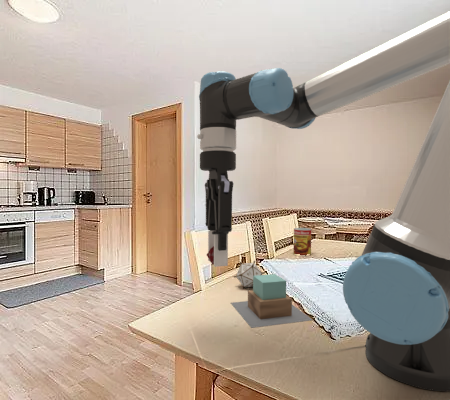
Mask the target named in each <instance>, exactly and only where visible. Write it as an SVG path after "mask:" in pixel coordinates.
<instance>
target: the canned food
mask: <svg viewBox="0 0 450 400" xmlns="http://www.w3.org/2000/svg"><path fill="white" fill-rule="evenodd" d="M294 254H300V255H307V254H311V255H312V229H311V228H309V227H295V228H293V255H294Z"/></svg>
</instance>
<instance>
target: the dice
mask: <svg viewBox="0 0 450 400" xmlns="http://www.w3.org/2000/svg"><path fill="white" fill-rule="evenodd" d="M206 257H207V259H208V258H209V260H210V261H209V262H210V264H211V265H214V246H213V247H212V248H211V249H210V251H209V252H208V251H207V253H206Z"/></svg>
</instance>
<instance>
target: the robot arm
mask: <svg viewBox="0 0 450 400" xmlns="http://www.w3.org/2000/svg"><path fill="white" fill-rule="evenodd" d="M448 65H450V10H448V11H446V12H444V13H443V14H440V15H438V16H435V17H434V18H432V19H429V20H428V21H425V22H424V23H422V24H420V25H417V26H416V27H414V28H412V29H410V30H407V31H405V32H404V33H402V34H400V35H398V36H396V37H394V38H391V39H390V40H387V41H385V42H384V43H381V44H380V45H378V46H376V47H374V48H372V49H369V50H367V51H366V52H363V53H362V54H359V55H358V56H356V57H353V58H352V59H349V60H347V61H345V62H343V63H342V64H339V65H338V66H336V67H333V68H331V69H330V70H327V71H325V72H323V73H322V74H319V75H317V76H316V77H313V78H311V79H309V80H308V81H305V82H303V83H301V84H298V85H297V86H294V85H293V81H292V78H291V77H290V76H289V74H288V72H287V70H285V69H284V68H281V67H274V68H271V69H270V68H269V69H263V70H262V69H261V70H259V71H257V72H254V73H252V74H248V75H246V76H242V77H239V78H238V77H237V78H236V76H235V75H234V74H233V73H231V72H228V71H222V70H218V71H210V72H207V73H205V74H204V75H203V76H202V77H201V78H200V87H199V95H198V98H199V99H198V100H199V133H198V134H197V136H196V138H197V139H199V140H200V141H199V149H200V150H201V152H200V153H199V169H200V170H201V171H204V172H205V171H207V172H209V174H208V179H207V180H206V182H205V184H204V189H205V190H204V192H205V223H204V224H205V226H206V228H207V233H208V234H207V235H208V236H207V237H208V238H207V253H208V252H209V251H210V249H211V248H212V247H213V246H214V264H213V267H216V268H218V267H228V266H229V265H228V262H229V259H228V258H229V252H228V251H229V250H228V249H229V240H228V239H229V238H228V237H229V236H228V235H229V233H231V232H232V230H233V227H232V224H233V190H234V182H233V180H230V179H229V175H228V172H231V171H232V172H233V171H235V170H236V168H237V154H236V152H234V151H235V150H237V120H238V121H239V120H244V119H250V118H260V119H264V120H267V121H269V122H272V123H277V124H278V125H282V126H284V127H287V128H290V129H297V130H301V129H306V128H308V127H309V126H311V125H312V124H313V122H314V121H315V120H316V119H317V117H320V116H323V115H326V114H329V113H331V112H333V111H335V110H338V109H340V108H343V107H346V106H349V105H350V104H353V103H355V102H358V101H360V100H363V99H365V98H368V97H371V96H373V95H375V94H378V93H381V92H383V91H385V90H388V89H391V88H393V87H396V86H398V85H400V84H403V83H405V82H408V81H410V80H413V79H416V78H419V77H420V76H422V75H423V76H424V75H426V74H428V73H430V72H433V71H435V70H438V69H441V68H443V67H445V66H448ZM414 160H415V161H414V163H413V165H412V167H411V169H410V172H409V175H408V176H407V178H406V181H405V184H404V186H403V188H402V191H401V193H400V195H399V197H398V200H397V202H396V204H395V207H394V210H393V212H392V213H391V215H389V216H387V217H385V218H381V219H379V220H376V221H375V223H374V224H373V227H372V229H371V232H370V234H369V237H368V239H367V242H366V244H365V246H364V248H363V251H362V253H361V255H360V256H358V257H357V258H356V259H355V260H354V261H352V262H351V264H350V265H349V267H348V268H347V269H346V272H345V273H344V274H345V275H344V277H343V280H342V281H343V283H342V293H343V298H344V302H345V304H346V305H347V307H348V309H349V312H350V314H351V316H352V317H353V318H354V319H355V321H356V322H357V323H358V324H359V325H360V326H361V327H362V328H363V329H364V330H366V331H367V332H368V333H369V334H368V335H367V337H366V340H365V356H366V358H367V360H368V362H369V363H370V364H371V365H372V366H373V368H375V369H376V370H379V372H381V373H383V374H384V375H386V376H388V377H390V378H391V379H393V380H396V381H397V382H400V383H403V384H406V385H408V386H412V387H415V388H419V389H424V390H427V391H428V390H429V391H434V392H435V391H438V392H450V80H449V81H448V83H447V86H446V88H445V90H444V93H443V95H442V98H441V99H440V101H439V104H438V107H437V109H436V112H435V113H434V116H433V118H432V121H431V123H430V125H429V128H428V130H427V132H426V134H425V137H424V139H423V142H422V144H421V146H420V148H419V151H418V153H417V155H416V157H415V159H414ZM207 261H208V262H210V260H209V258H208V257H207Z"/></svg>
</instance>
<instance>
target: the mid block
mask: <svg viewBox="0 0 450 400" xmlns="http://www.w3.org/2000/svg"><path fill="white" fill-rule="evenodd" d="M252 290H253V292H254V293H255V294H256V295H257V296H259V297H260V298H261V299H262V300H268V299H277V298H286V295H287V280H286V279H284V278H282V277H280V276H279V275H277V274H276V273H271V274H262V275H257V276H253V287H252Z"/></svg>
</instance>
